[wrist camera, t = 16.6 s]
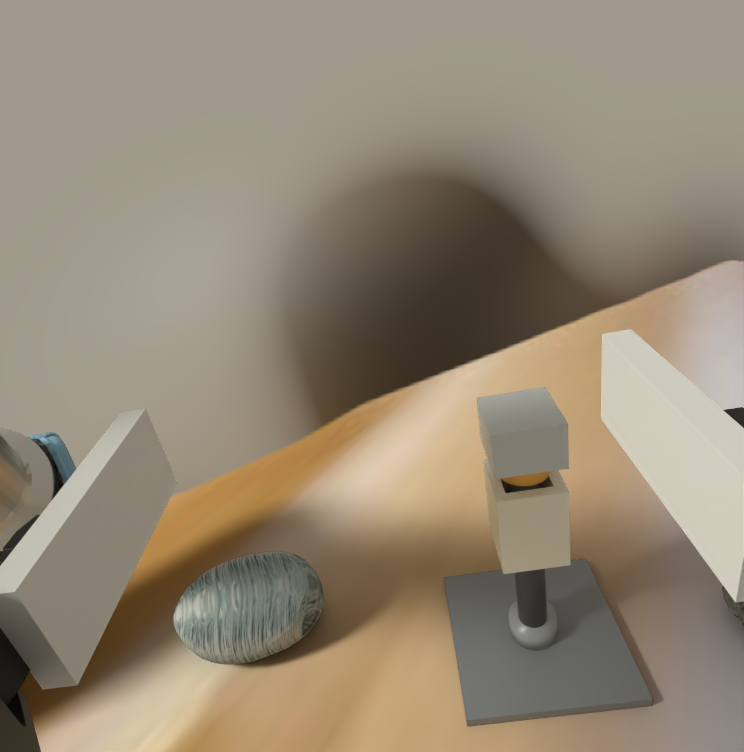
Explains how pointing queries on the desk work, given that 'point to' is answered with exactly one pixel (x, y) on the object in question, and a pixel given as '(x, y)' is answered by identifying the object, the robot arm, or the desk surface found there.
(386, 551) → the desk surface
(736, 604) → the mineral rock
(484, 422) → the stand
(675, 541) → the desk surface
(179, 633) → the grey oval lump
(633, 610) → the desk surface
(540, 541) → the sleeve
